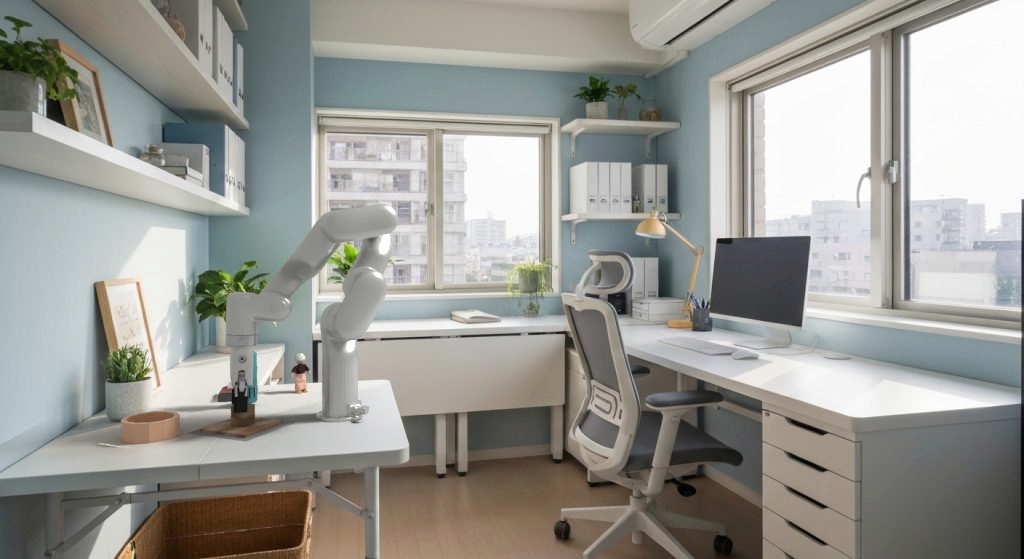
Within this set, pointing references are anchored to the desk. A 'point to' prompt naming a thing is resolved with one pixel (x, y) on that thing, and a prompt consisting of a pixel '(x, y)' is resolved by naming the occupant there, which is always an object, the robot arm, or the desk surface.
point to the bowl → (150, 427)
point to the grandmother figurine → (300, 374)
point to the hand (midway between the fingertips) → (239, 408)
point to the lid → (242, 424)
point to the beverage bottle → (253, 390)
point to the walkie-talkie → (225, 394)
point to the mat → (197, 432)
